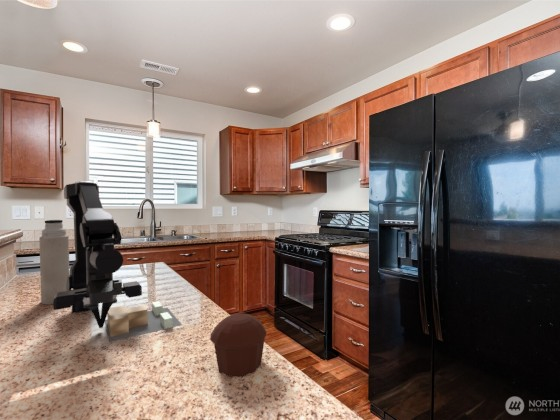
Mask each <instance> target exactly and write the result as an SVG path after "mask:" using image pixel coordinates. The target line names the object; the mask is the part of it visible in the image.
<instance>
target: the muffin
mask: <svg viewBox="0 0 560 420" xmlns="http://www.w3.org/2000/svg"><path fill="white" fill-rule="evenodd" d="M209 337H210V340H209V341H211V342H212V343H213V344H214V350H215V351H214V352H215V359H216V364H217V368H218V372H219V373H221V374H223V375H225V376H226V377H231V378H232V377H233V378H234V377H240V378H244V377H245V376H247V375H250V374H254V373H256V371H257V370H258V369H259V368H260V367H261V365H262V360H263V359H262V358H263V351H264V344H265V338H266V337H267V330H266V327H265V326H264V324H263V323H262V322H261V320H259V319H258V318H256V317H255V316H253V315H252V314H249V313H235V314H231V315H228V316H226V317H224V318H223V319H222V320H221V321H219V323H217V324H216V326H215V327H214V329H212V331H211V333H210V336H209Z"/></svg>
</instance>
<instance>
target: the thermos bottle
mask: <svg viewBox="0 0 560 420" xmlns="http://www.w3.org/2000/svg"><path fill="white" fill-rule="evenodd" d="M44 224H45V225H44V229H42V230H41V236H39V266H40V268H39V269H40V270H39V271H40V273H39V274H40V303H41V304H42V305H53V301H54V296H55V295H56V294H57V293H58V292H63V291H66V284H67V278H68V275H70V246H69V245H70V244H69V235H68V234H67V230H66V228H64V227H63V226H64V225H63V219H48V220H44Z"/></svg>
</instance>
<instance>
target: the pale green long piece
mask: <svg viewBox="0 0 560 420" xmlns="http://www.w3.org/2000/svg"><path fill="white" fill-rule="evenodd" d="M163 308H164V305H162V303H161V302H160V301H158V300H157V301H152V302H151V311H153V313H154V314H155V316H156V315H160V323H161V324H162V326H163V327H164V329H163V330H166V329H167V328H168V329H170V328H171V327H172V328H174V327H173V325H172V317H171V315H170V314H169V313H168V312H165V313H163ZM168 329H167V330H168Z"/></svg>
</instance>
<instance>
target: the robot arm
mask: <svg viewBox="0 0 560 420" xmlns="http://www.w3.org/2000/svg"><path fill="white" fill-rule="evenodd" d="M99 190H100V187H99V185H98V184H97V182H95V181H89V180H88V181H87V180H86V181H85V180H84V181H83V180H78V181H75V182H73V183H69V184H66V185H65V186H64V187H63V198H64V200H66V205H67V207H68V208H69V210H71V212H72V213H73V231H74V252H75V253H74V254H75V256H74V257H75V260H74V262H73V264H72V265H71V267H69V275H68V278H67V284H66V291H63V292H58V293H57V294H56V295H55V296H54V301H53V304H52V305H53V310H54V311H58V310H64V309H69V308H71V314H74V313H83V312H84V313H85V312H89V311H91V313H92V314H93V317H94V318H95V321H96V324H97V326H98V328H99V329H102V328H103V327H104V325H105V320H107V313H108V311H109V309H110V308H112V306H113V304H117V302H118V298H117V297H118V296H120V295H121V296H122V295H125V297H128V298H135V297H136V298H137V297H140V296H143V291H142V290H143V288H142V285H141V283H140V282H139V281H137V280H136V281H128V282H122V279H121V278H120V279H114V278H113V277H114V276H113V275H114V274H113V273H116V272H118V271H119V270H120V269H121V268H122V266H123V263H124V257H123V255H122V253H121V252H120V251H119V250H117V249H115V245H121V243H122V242H121V241H122V234H121V230H120V228H119V225H117V222H116V221H114V217H113V216H112V214H111V213H109V212H108V211H106V210H104V208H103V203H102V202H101V199H100V191H99ZM99 304H101V310H100V309H99V306H100V305H99ZM100 311H101V312H100Z"/></svg>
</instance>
